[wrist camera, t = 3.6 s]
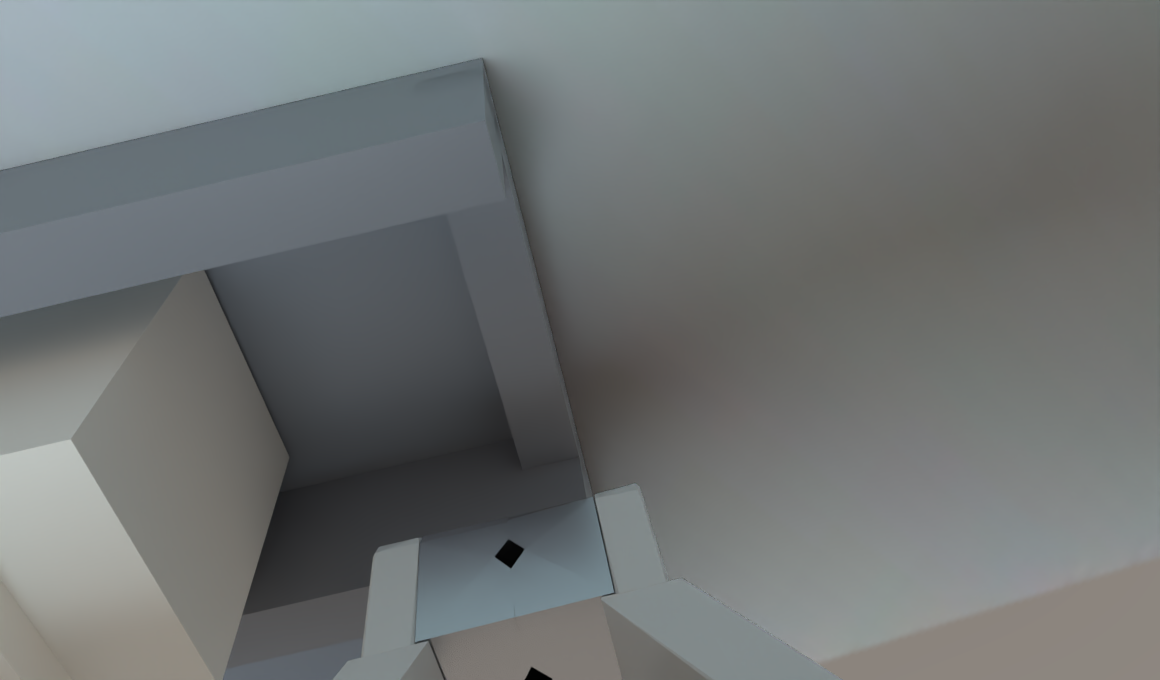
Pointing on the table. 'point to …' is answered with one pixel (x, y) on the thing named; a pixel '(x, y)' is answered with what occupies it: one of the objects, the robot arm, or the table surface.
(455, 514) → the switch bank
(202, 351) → the white rectangular block
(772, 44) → the table surface
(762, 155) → the table surface
